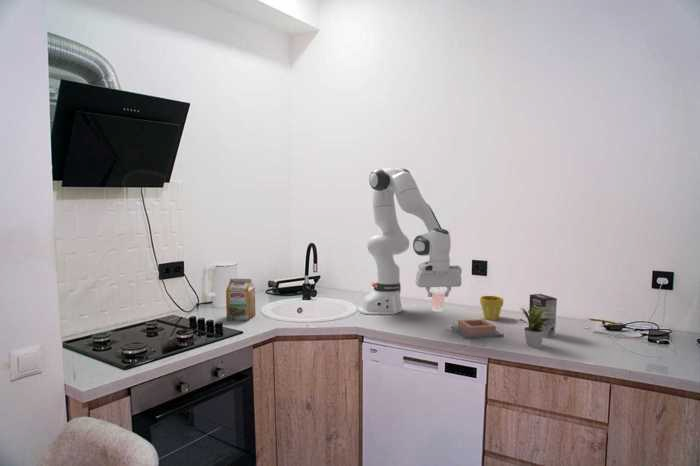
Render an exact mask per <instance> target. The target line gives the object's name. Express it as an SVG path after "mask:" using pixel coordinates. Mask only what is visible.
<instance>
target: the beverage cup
mask: <svg viewBox="0 0 700 466" xmlns="http://www.w3.org/2000/svg"><path fill="white" fill-rule="evenodd" d="M430 290H431V291H430V292H431V293H432V297H431V303H432V305H431V309H432V311H433V312H436V313H437V312H443V311H444V305H445V304H444V303H445V296H444V295H445V292H446V289H443V288H440V287H437V288H432V289H430Z"/></svg>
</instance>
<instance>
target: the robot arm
mask: <svg viewBox="0 0 700 466" xmlns="http://www.w3.org/2000/svg"><path fill="white" fill-rule="evenodd" d="M368 179H369V180H368V182H369V185H370V186H371V189H373V191H372V208H373V217H374V223H375V224H376V226H378V227H379V228H380V230H381V232H382V234H377V235H374V236H372V237H370V238H369V239H368V240H367V244H366V245H367V250H368V252H369V254H370V255H371V256H372V257H373V259H374V261H375V263H376V268H377V282H372V283H371V284H370V285H371V286H372V287H373V290H371V291H370V292H369V293H368V294H366V295H365V296H364V298H363V301H362V305H360V306H358V307H357V308H358V312H359V313H360V314H363V315H396V314H398V313H400V312H403V307H402V303H401V302H402V301H401V288H402V287H401V286H402V285H401V282H400V274H401V273H400V266H399V265H398V264H397V263H396V262H395V260H394V255H400V254H403V253H404V252H406V251H408V249H409V247H410V240H409V238H408V236H407V235H406V234H404V232H403V231H402V228H401V227H400V225H399V222H398V217H397V212H396V205H395V203H396V202H395V198H396V201H397V204H398V206H399V207H400V209H401V210H402V211H404V212H405V213H407V214H411V215H412V216H414V217H415V216H416V217H418V218H419V219H421V220H422V222H423V224H424V225H425V227H426V230H427V233H423V234H419V235H417V236H415V238H414V240H413V242H412V248H413V252H414V253H415V254H416V255H418V256H422V257H426V256H429V260H427V261H424V262H422V263H419V264H418V267H417V268H418V270H417V272H416V274H415V275H416V277H415V285H416V286H417V287H418V288H425V291H426V292H427V297H428V298H432V292H431V291H430V290H431V288H438V287H439V288H446V290H445V295H444V298H447V297H449V294H450V292H451V290H452V288H453V287H454V288H456V287H457V288H458V287H459V288H460V286H462V270H463V269H462V268H461V267H460V266H459V265H450V264H451V257H450V252H451V244H452V240H451V235H450V232H449V230H447V229H444V228H442V226H441V225H440V222H439V220H438V219H437V217H436V214H435V213H434V211H433V209H432V208H431V206H430V205H429V204H428V203H427V202H426V201H425V199H424V198H423V196H422V194H421V192H420V189H419V186H418V184H417V183H416V180H415V179H414V177H413V176H412V174H411V172H410V170H408V169H406V168H403V167H402V168H401V167H389V168H387V167H386V168H376V169H373V170H372V171H371V172H370V175H369V178H368ZM394 196H395V197H394Z"/></svg>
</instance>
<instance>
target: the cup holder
mask: <svg viewBox="0 0 700 466" xmlns="http://www.w3.org/2000/svg"><path fill="white" fill-rule="evenodd" d="M450 328H451V329H452V330H453V331H455V332H456V333H458V334H459V335H460V336H462V337H463V338H464V339H466V340H469V339H470V340H473V339H488V338H489V339H490V338H491V339H493V338H502V337H503V338H504V334H503V333H501V332H500V331H498V330H497V329H496V328H497V326H496V325H494V324H493V323H491V322H490V321H487V319H485V318H476V319H475V318H473V319H470V318H469V319H458V320H457V325H456V324H455V325H450Z"/></svg>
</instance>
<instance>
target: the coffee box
mask: <svg viewBox="0 0 700 466" xmlns="http://www.w3.org/2000/svg"><path fill="white" fill-rule="evenodd" d="M557 301H558V298H556V297H553V296H550V295H546V294H542V293H538V294H537V293H533V294H529V308H528V310H529V311H530V312H531V313H532V308H533V309H534V306H535V304H536V306H535V315H536V313H537V312H538V310H540V309H541V308H542V307H543V308H544V307H546V308H545V309H544V311H543V313H542V314H541V316H540V318H548V319H552V320H547V321H545V322H543V323H544V324H546V323H549V324H550V325H551V326H550V325H549V324H546V325H547V326H544V325H542V326H541V327H540V328H541V329H543V330H544V333H543V337H542V338H549V337H551V338H552V337H555V336H556V322H557V321H556V320H557V303H558V302H557ZM531 307H532V308H531ZM549 311H551V312H549ZM547 312H548V313H547ZM538 313H539V312H538ZM538 313H537V314H538ZM545 313H546V314H545ZM544 314H545V315H544ZM528 315H529V316H530V314H529V313H528ZM542 315H544V316H542ZM536 316H537V315H536ZM535 318H536V317H535ZM540 318H539V319H540ZM541 320H542V319H541ZM539 321H540V320H538V322H539ZM538 322H537V323H538ZM543 323H542V324H543ZM528 325H529V324H528ZM528 327H530V325H529V326H528Z"/></svg>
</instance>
